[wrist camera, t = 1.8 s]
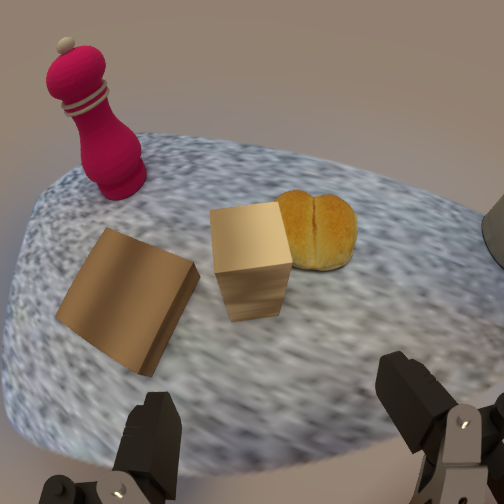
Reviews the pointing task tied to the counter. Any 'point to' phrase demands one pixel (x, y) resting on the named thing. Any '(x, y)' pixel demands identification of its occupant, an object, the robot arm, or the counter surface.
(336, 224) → the bread roll
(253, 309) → the beech block
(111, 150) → the pepper mill
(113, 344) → the walnut block
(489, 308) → the counter surface
